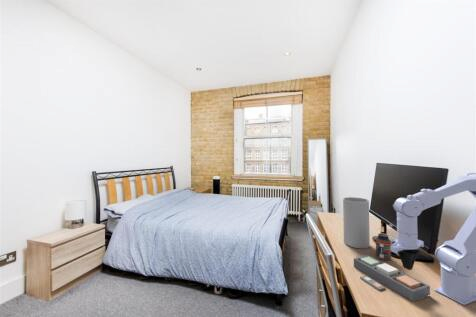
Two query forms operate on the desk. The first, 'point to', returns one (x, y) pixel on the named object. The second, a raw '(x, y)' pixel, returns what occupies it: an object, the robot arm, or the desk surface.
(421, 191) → the robot arm
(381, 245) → the supplement bottle
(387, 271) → the white key
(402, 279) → the terracotta key
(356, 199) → the cylinder vase
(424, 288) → the grey divided tray
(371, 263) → the sage key
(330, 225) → the desk surface
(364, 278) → the card
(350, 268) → the desk surface
